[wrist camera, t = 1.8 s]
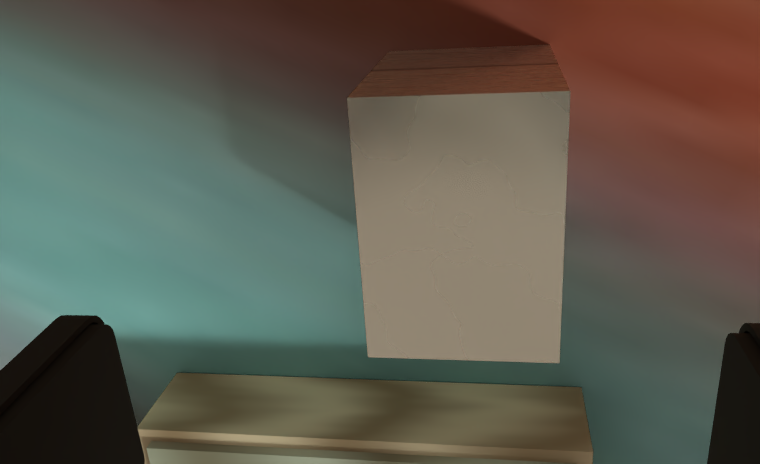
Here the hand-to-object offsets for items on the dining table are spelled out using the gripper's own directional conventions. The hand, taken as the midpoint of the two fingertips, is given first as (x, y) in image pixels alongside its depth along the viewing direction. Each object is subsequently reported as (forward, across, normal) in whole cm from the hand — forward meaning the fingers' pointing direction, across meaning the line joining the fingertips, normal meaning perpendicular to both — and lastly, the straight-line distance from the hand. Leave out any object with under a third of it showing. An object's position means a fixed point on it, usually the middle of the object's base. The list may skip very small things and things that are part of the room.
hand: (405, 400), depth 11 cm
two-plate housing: (+14, -1, 0) cm, 14 cm away
